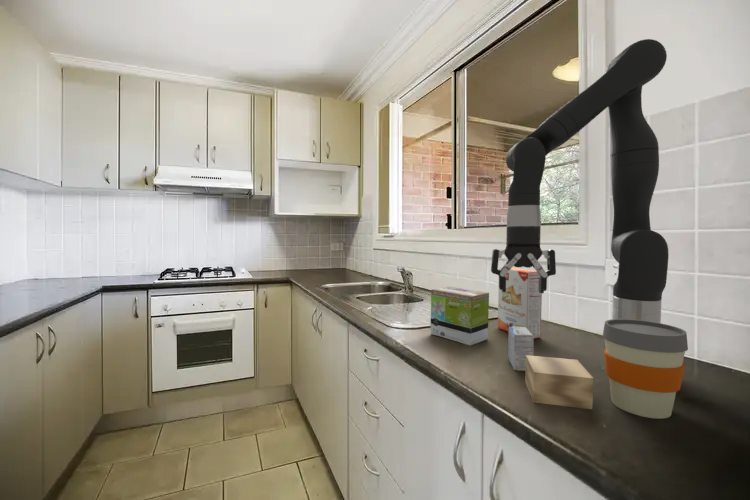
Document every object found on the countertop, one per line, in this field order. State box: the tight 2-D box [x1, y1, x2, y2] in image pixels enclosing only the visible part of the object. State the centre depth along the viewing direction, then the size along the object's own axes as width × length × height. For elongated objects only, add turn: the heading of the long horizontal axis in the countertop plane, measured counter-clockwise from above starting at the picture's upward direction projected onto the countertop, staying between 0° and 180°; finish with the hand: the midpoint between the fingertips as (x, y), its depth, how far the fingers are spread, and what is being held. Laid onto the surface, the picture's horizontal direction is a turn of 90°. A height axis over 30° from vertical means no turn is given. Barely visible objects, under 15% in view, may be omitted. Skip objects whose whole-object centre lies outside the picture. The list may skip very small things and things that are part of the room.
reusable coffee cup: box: [602, 318, 689, 419], centre depth 66 cm, size 13×13×15 cm
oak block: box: [524, 355, 594, 410], centre depth 71 cm, size 10×10×6 cm
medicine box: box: [507, 327, 534, 372], centre depth 86 cm, size 8×4×9 cm, turn 168°
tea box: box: [430, 286, 490, 347], centre depth 109 cm, size 15×10×15 cm
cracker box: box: [497, 267, 543, 340], centre depth 114 cm, size 14×6×21 cm, turn 17°
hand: (522, 292), depth 85 cm, fingers open, 8 cm apart
